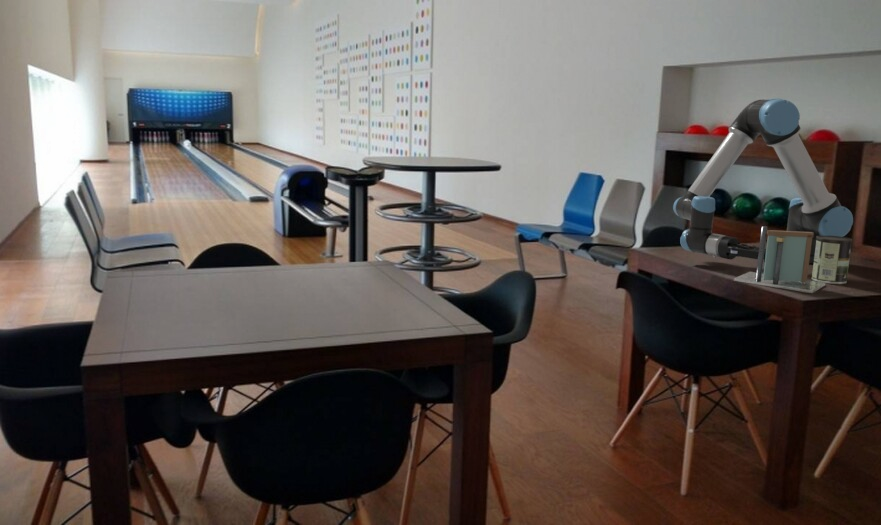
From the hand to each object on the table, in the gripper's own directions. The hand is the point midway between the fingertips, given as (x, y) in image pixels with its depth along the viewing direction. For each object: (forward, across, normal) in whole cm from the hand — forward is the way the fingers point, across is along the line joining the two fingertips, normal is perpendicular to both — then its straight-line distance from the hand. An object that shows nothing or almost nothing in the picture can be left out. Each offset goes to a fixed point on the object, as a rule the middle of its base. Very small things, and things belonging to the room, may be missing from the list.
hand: (789, 259), depth 229 cm
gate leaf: (0, +1, -6) cm, 7 cm away
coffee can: (+3, -19, -8) cm, 21 cm away
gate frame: (-2, 0, -8) cm, 8 cm away
